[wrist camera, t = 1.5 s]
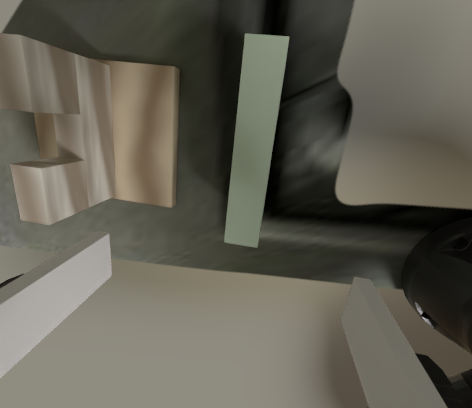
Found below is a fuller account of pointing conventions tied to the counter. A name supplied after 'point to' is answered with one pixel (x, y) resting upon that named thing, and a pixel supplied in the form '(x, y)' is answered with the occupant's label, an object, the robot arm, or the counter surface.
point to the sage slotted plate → (254, 135)
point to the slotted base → (137, 131)
